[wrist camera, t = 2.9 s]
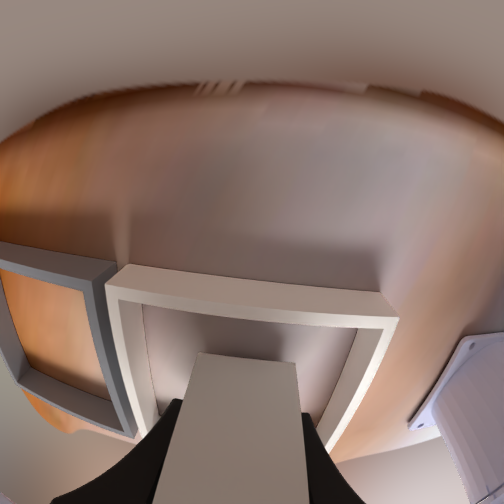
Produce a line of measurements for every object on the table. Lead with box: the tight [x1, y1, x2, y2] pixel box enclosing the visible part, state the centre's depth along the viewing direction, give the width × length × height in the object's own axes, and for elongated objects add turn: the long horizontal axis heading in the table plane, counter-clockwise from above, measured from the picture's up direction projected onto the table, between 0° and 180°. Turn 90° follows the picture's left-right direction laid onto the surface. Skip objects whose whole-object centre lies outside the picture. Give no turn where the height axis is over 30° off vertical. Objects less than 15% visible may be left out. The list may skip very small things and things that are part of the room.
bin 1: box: [0, 241, 138, 439], centre depth 11 cm, size 10×10×2 cm
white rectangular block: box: [152, 352, 309, 504], centre depth 8 cm, size 4×4×7 cm
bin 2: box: [105, 264, 400, 454], centre depth 11 cm, size 10×10×2 cm
